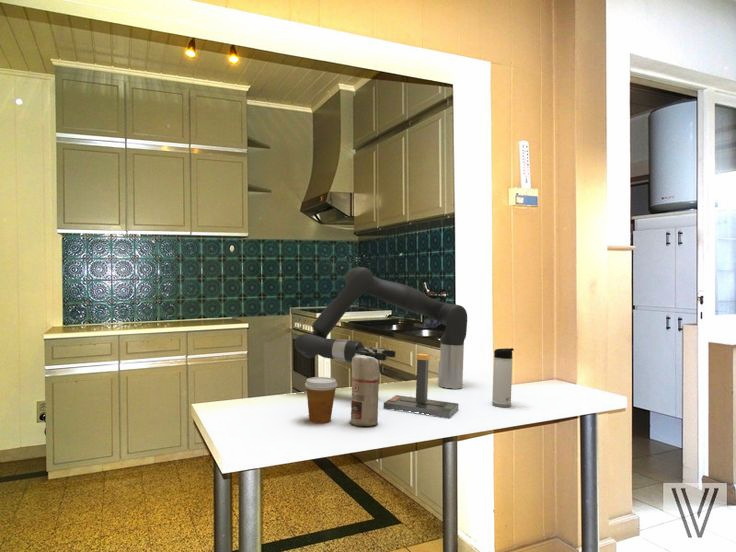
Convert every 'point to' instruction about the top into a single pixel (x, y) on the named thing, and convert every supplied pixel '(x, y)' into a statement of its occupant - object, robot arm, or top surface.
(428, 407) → the switch base
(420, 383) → the lever
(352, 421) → the spray can
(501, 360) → the travel mug
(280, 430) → the top surface
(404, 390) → the top surface
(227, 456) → the top surface
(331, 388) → the disposable coffee cup
